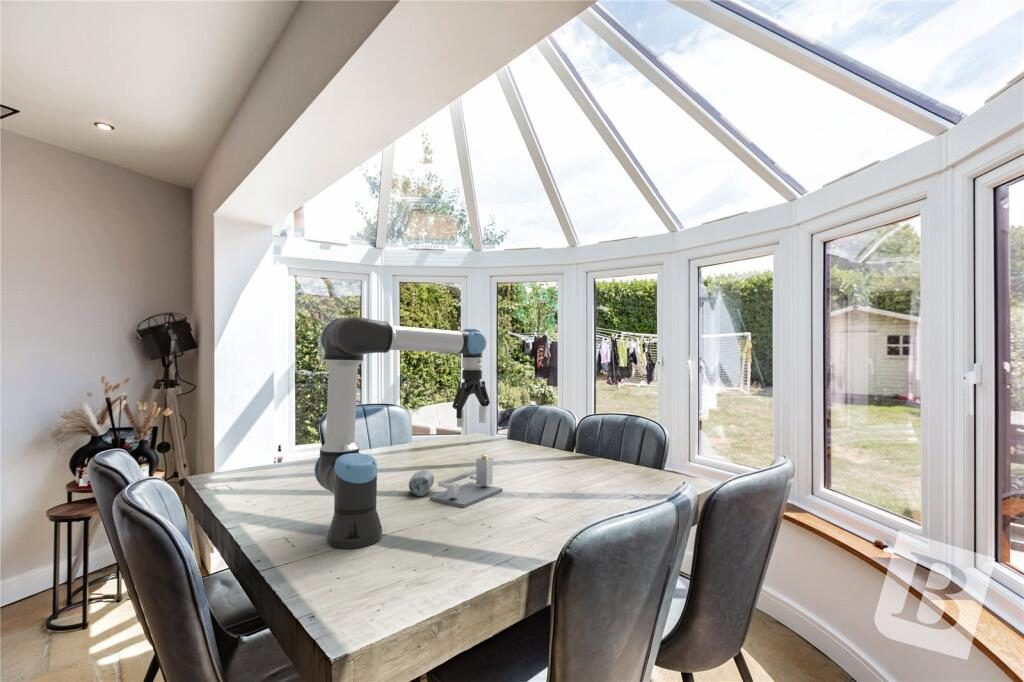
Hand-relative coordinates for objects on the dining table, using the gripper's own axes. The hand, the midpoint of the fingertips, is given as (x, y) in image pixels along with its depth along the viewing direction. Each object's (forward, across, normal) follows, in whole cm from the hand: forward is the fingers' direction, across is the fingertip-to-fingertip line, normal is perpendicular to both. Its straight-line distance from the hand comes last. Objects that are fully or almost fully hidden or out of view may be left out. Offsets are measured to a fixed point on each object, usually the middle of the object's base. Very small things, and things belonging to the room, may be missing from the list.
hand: (471, 424), depth 180 cm
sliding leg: (+25, +8, +2) cm, 27 cm away
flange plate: (+27, -1, +1) cm, 27 cm away
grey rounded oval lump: (+27, -8, +18) cm, 33 cm away
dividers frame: (+25, 0, +3) cm, 26 cm away
